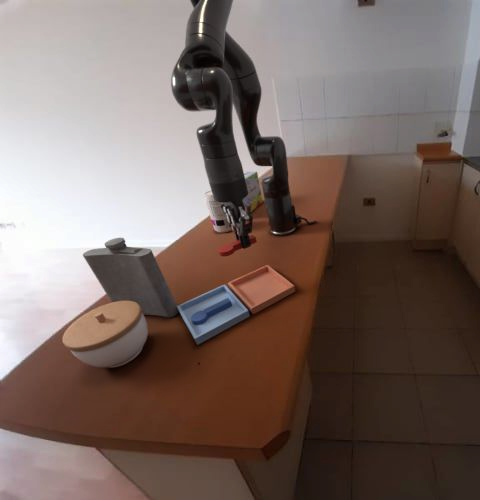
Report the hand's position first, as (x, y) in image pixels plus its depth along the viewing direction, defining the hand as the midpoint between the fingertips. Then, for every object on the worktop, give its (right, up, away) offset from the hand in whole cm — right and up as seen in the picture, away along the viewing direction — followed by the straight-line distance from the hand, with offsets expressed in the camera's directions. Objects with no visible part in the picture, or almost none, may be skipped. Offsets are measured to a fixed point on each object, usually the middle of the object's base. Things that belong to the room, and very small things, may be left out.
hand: (244, 245), depth 69 cm
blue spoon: (-7, -16, -2) cm, 18 cm away
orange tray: (+3, -12, +5) cm, 13 cm away
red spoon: (-1, -1, -1) cm, 2 cm away
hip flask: (-24, -17, +1) cm, 29 cm away
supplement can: (-20, +7, +41) cm, 46 cm away
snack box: (-16, +17, +56) cm, 61 cm away
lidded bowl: (-22, -23, -10) cm, 34 cm away
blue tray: (-7, -17, -2) cm, 18 cm away
